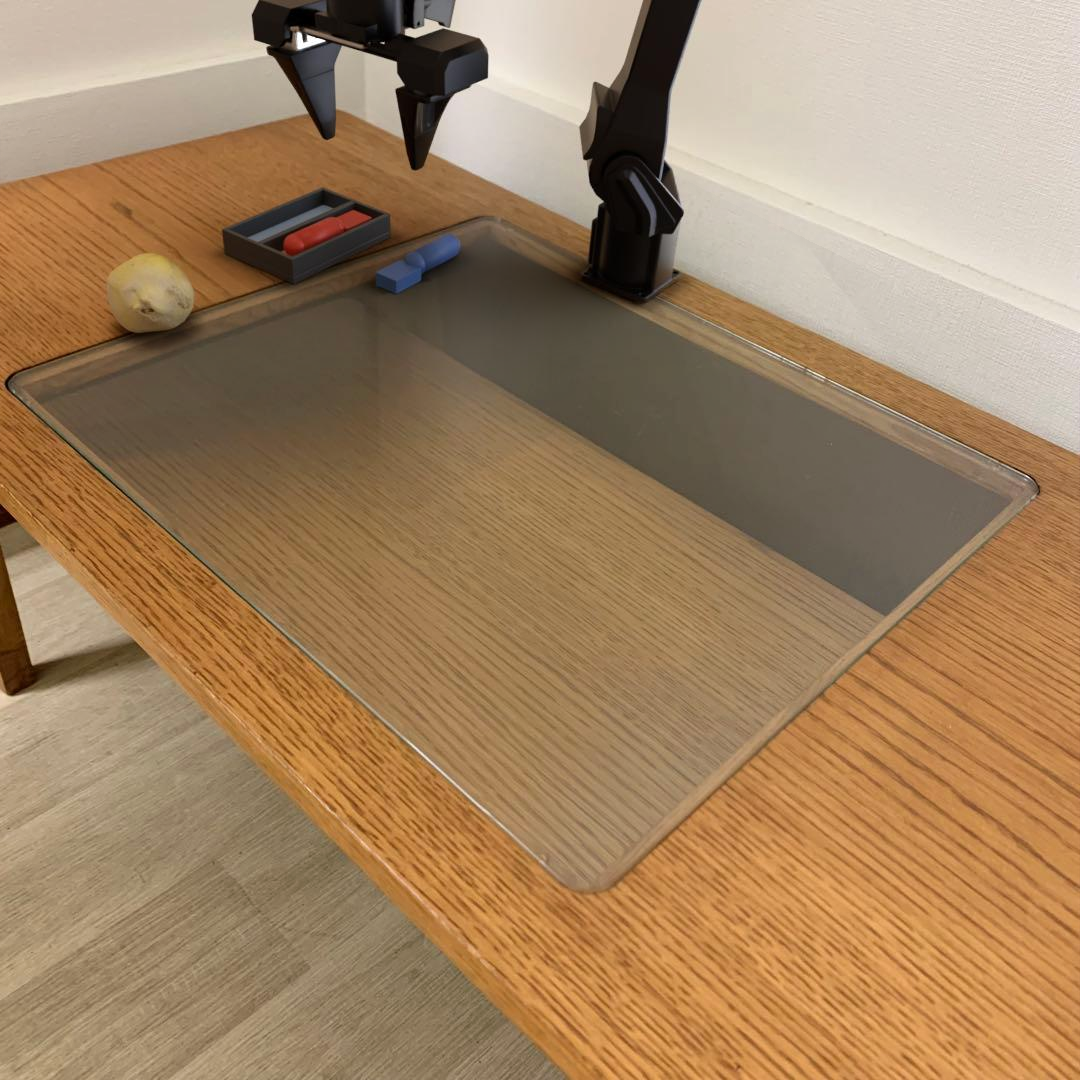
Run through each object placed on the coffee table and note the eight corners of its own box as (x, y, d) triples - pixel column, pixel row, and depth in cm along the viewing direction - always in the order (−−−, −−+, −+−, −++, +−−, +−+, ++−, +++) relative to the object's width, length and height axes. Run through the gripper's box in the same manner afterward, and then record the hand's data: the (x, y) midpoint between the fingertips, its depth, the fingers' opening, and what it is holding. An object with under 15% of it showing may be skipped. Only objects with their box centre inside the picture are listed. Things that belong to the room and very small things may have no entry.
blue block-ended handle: (445, 248, 99) (446, 227, 97) (465, 256, 98) (466, 235, 97) (375, 285, 93) (375, 263, 91) (396, 294, 92) (396, 271, 91)
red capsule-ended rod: (297, 265, 93) (296, 242, 91) (278, 257, 94) (276, 234, 92) (372, 229, 99) (372, 208, 97) (353, 222, 100) (352, 200, 98)
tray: (390, 237, 100) (390, 213, 98) (293, 284, 92) (292, 259, 90) (323, 210, 103) (322, 186, 101) (224, 253, 95) (221, 229, 94)
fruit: (191, 284, 91) (212, 328, 83) (120, 314, 90) (135, 361, 82) (158, 217, 87) (177, 257, 79) (84, 247, 86) (95, 291, 78)
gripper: (537, -60, 81) (527, 155, 91) (341, -104, 88) (352, 98, 98) (439, -31, 74) (440, 198, 84) (235, -82, 81) (259, 134, 91)
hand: (372, 153), depth 89 cm, fingers open, 9 cm apart
